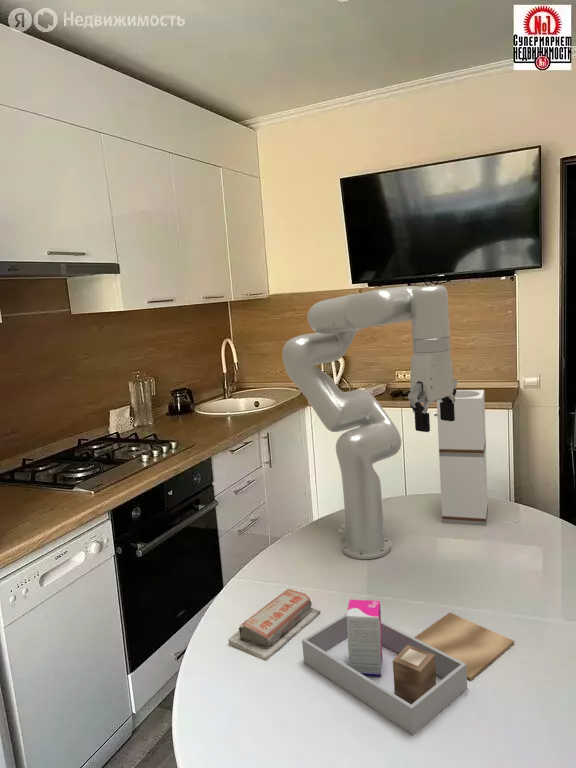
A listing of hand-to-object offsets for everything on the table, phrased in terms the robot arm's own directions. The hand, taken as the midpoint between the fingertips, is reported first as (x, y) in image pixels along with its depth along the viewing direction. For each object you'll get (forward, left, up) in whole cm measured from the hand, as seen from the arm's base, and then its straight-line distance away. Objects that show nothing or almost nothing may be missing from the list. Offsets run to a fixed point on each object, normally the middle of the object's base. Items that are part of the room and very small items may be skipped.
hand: (435, 425), depth 126 cm
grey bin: (+11, -33, -36) cm, 50 cm away
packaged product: (-14, -37, -37) cm, 54 cm away
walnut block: (+18, -33, -36) cm, 52 cm away
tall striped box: (-16, +33, -36) cm, 52 cm away
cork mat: (+16, -17, -36) cm, 43 cm away
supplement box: (+7, -33, -36) cm, 49 cm away
